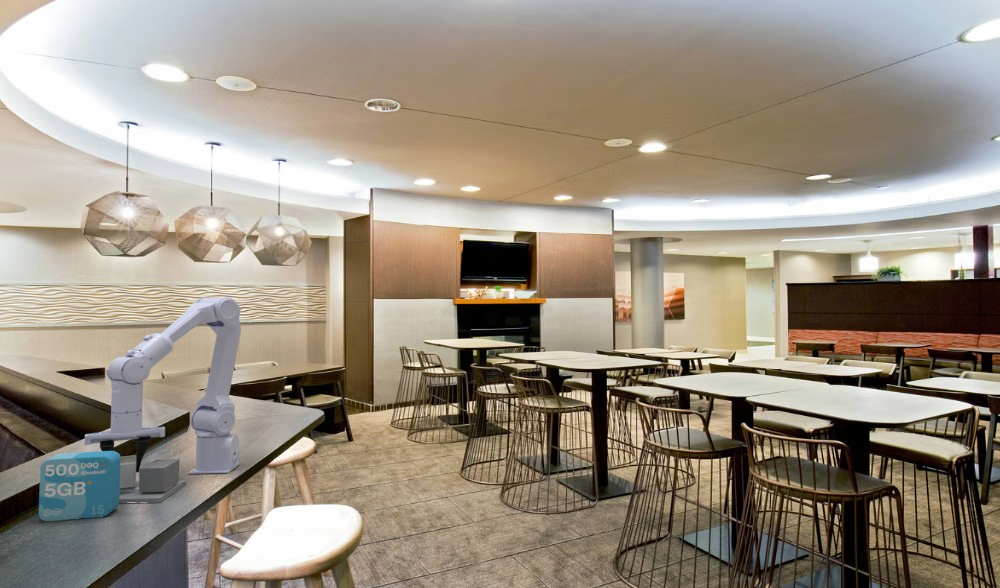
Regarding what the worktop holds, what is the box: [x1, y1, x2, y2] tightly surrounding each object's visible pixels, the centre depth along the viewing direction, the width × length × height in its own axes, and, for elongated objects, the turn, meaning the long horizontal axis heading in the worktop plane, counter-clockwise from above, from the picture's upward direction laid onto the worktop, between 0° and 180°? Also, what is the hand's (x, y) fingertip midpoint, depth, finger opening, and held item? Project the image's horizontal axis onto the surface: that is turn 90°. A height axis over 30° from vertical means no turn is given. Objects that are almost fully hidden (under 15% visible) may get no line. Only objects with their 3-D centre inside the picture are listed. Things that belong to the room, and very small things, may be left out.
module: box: [120, 454, 137, 488], centre depth 120 cm, size 4×7×5 cm, turn 35°
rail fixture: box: [119, 458, 187, 504], centre depth 120 cm, size 20×12×7 cm, turn 97°
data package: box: [38, 450, 122, 522], centre depth 108 cm, size 12×4×12 cm, turn 105°
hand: (124, 473), depth 120 cm, fingers closed on module, 4 cm apart
